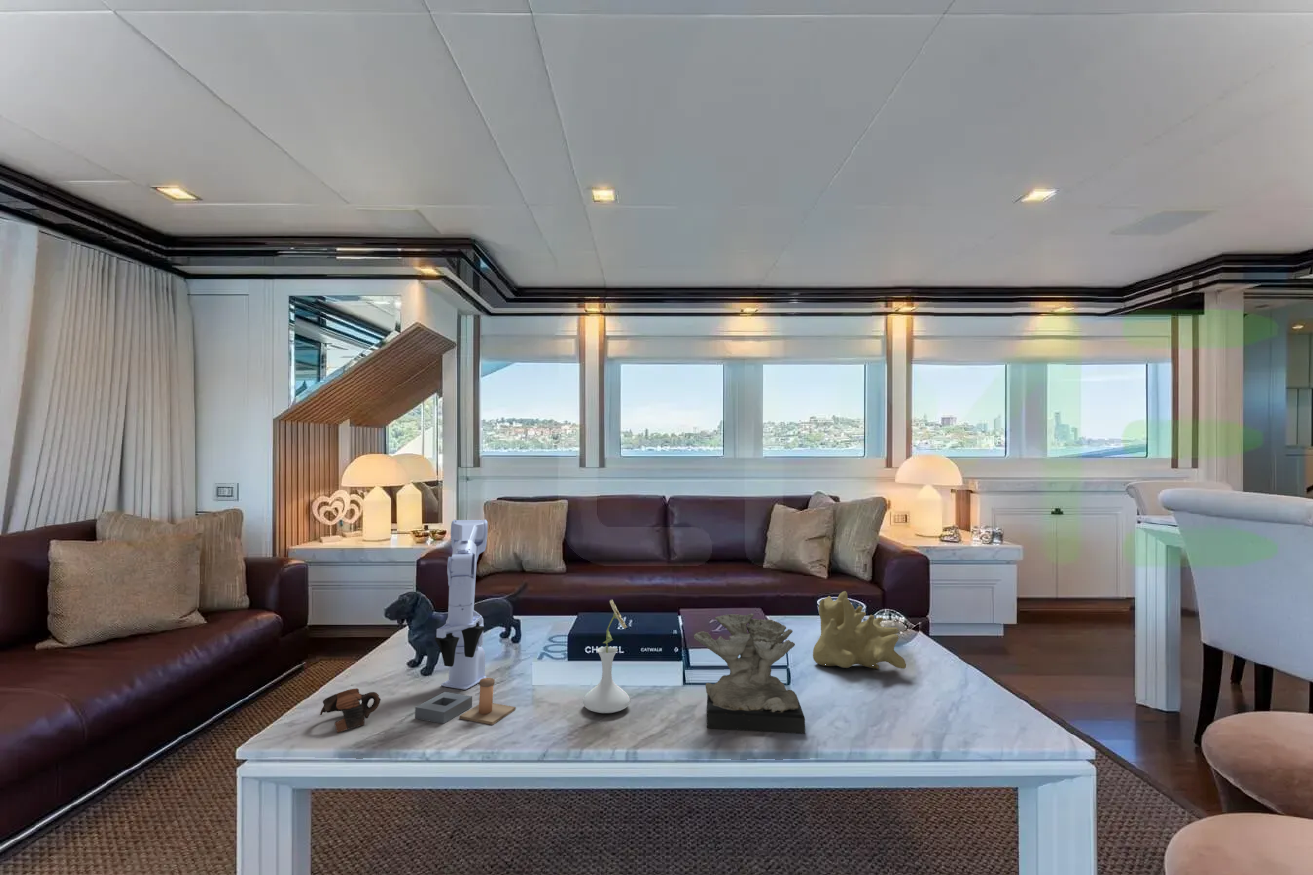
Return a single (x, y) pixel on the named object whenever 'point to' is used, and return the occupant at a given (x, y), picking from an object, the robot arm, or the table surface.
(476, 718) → the coaster
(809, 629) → the table surface
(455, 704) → the socket
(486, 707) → the plug
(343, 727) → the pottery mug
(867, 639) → the decorative coral
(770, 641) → the coral
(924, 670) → the table surface
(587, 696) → the flower in vase
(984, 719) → the table surface
